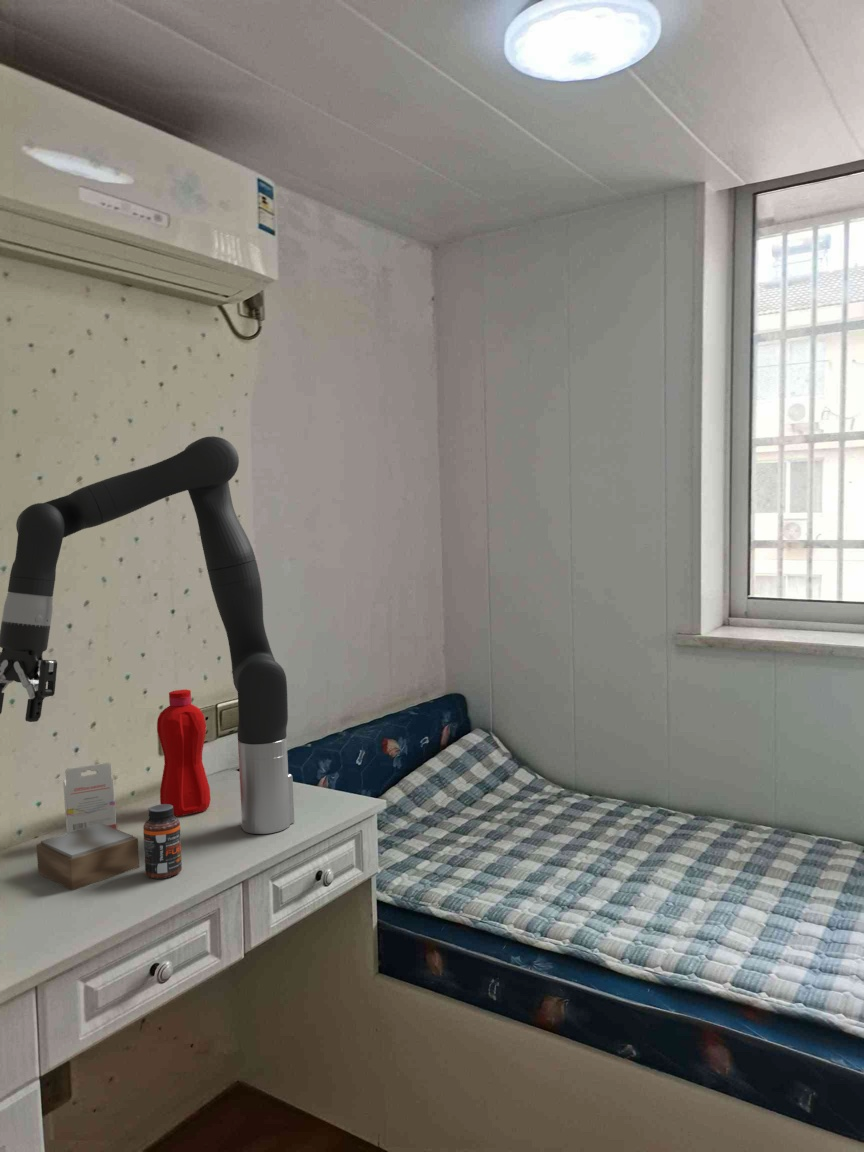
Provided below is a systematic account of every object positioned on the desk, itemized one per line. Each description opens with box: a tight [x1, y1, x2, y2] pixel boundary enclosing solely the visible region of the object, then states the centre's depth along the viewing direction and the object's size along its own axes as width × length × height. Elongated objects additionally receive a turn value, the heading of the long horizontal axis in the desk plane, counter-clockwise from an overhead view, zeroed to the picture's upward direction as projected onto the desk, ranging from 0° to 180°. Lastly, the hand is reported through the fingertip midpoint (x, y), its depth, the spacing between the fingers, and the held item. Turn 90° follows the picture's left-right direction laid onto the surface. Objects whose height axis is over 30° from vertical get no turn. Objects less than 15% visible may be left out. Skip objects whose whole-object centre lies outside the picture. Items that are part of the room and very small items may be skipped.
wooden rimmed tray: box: [36, 823, 140, 891], centre depth 151 cm, size 12×12×6 cm
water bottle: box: [156, 689, 211, 817], centre depth 182 cm, size 9×11×25 cm
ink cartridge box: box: [62, 762, 118, 834], centre depth 166 cm, size 9×5×15 cm, turn 117°
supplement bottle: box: [142, 803, 183, 879], centre depth 148 cm, size 6×6×11 cm
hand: (12, 717), depth 147 cm, fingers open, 8 cm apart
